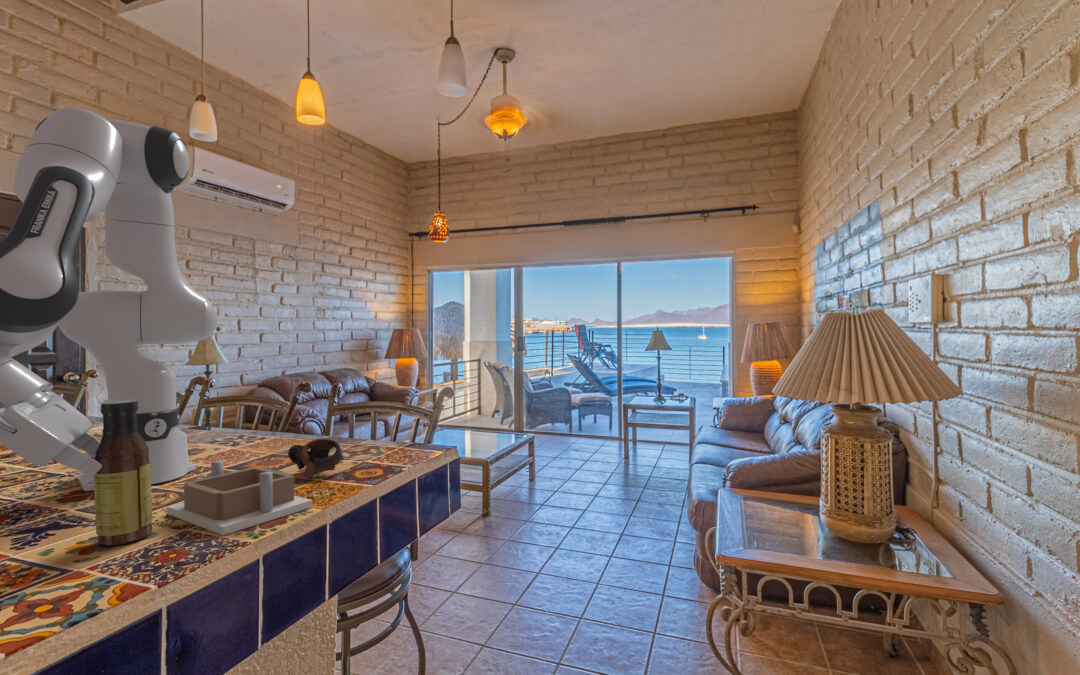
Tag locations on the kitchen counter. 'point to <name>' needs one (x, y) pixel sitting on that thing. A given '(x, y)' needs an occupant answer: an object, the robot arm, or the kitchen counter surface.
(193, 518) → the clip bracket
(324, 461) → the pottery mug
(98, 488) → the sauce bottle
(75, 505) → the kitchen counter surface
